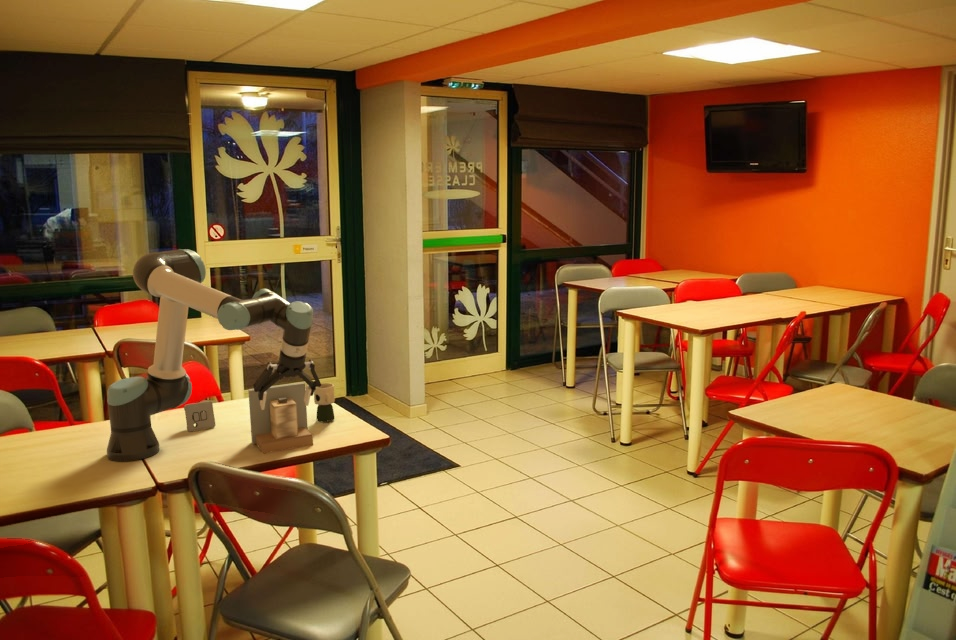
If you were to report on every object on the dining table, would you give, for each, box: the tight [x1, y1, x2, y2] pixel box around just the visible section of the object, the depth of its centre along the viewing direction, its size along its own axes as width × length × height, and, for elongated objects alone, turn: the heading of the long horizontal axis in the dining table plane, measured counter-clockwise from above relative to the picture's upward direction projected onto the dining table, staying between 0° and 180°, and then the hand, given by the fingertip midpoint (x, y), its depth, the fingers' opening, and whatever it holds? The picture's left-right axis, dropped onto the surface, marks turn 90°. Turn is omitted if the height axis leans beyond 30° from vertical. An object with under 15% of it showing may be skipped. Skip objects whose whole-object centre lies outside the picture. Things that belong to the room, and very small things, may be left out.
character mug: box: [313, 382, 336, 423], centre depth 275 cm, size 11×7×13 cm, turn 25°
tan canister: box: [269, 397, 298, 439], centre depth 251 cm, size 7×7×12 cm
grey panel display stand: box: [248, 381, 314, 454], centre depth 251 cm, size 18×12×18 cm, turn 117°
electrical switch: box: [183, 400, 216, 433], centre depth 269 cm, size 9×5×9 cm, turn 121°
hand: (284, 404), depth 239 cm, fingers open, 13 cm apart
